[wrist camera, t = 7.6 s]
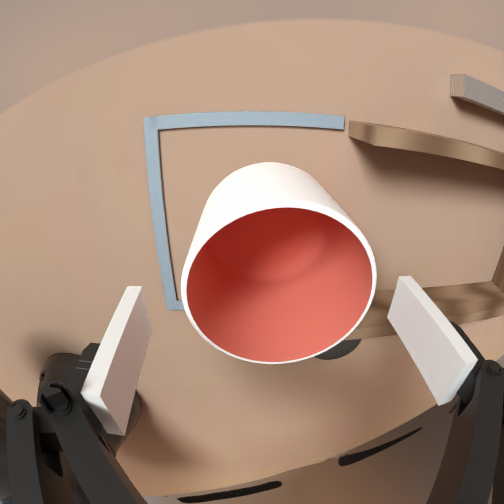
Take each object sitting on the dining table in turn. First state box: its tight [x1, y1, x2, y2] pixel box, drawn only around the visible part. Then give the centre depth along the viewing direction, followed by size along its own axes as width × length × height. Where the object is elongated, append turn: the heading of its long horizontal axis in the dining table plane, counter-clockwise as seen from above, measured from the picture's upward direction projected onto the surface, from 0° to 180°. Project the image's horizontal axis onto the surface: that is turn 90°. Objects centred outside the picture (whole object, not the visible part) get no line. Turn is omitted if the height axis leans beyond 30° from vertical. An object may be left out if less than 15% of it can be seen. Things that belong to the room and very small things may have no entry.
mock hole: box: [314, 339, 361, 360], centre depth 30 cm, size 6×6×1 cm
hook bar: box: [450, 74, 504, 116], centre depth 17 cm, size 12×4×2 cm, turn 90°
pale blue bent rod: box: [144, 111, 344, 310], centre depth 23 cm, size 14×17×1 cm
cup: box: [181, 162, 377, 364], centre depth 19 cm, size 10×10×10 cm
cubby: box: [344, 121, 504, 340], centre depth 22 cm, size 23×16×5 cm
